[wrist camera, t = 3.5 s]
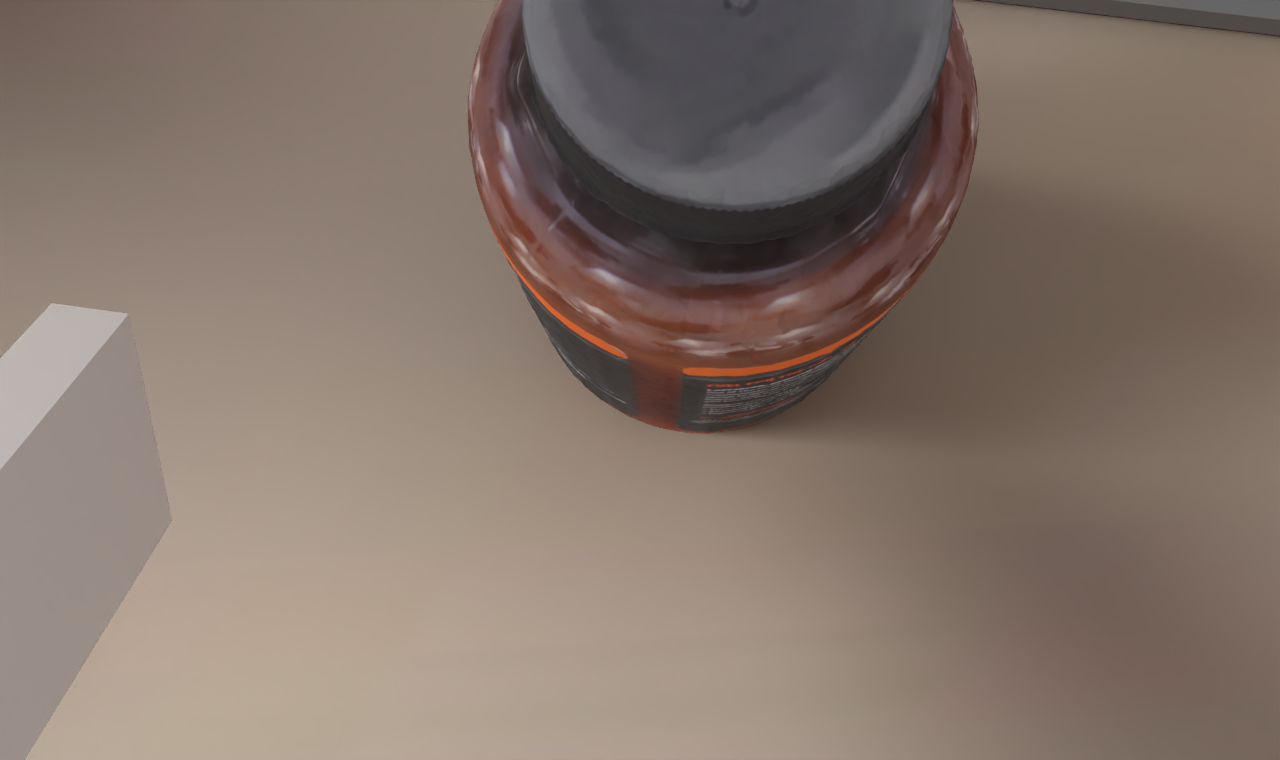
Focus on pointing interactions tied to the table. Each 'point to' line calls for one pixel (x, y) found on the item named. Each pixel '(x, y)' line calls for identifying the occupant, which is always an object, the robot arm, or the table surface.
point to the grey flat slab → (1179, 11)
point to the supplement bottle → (719, 185)
